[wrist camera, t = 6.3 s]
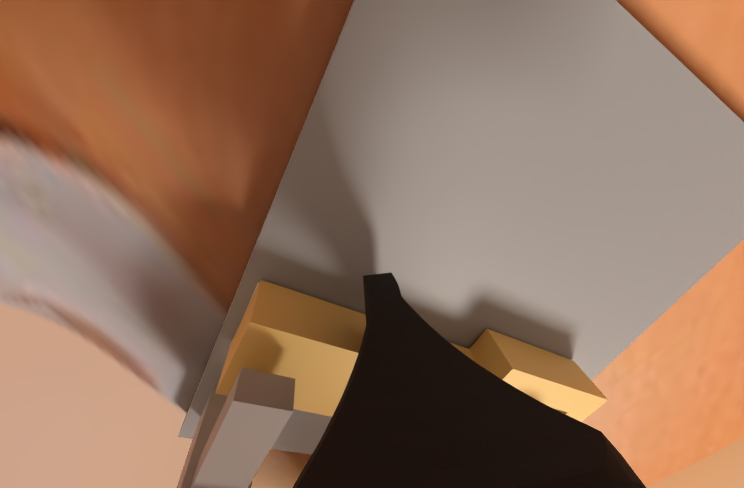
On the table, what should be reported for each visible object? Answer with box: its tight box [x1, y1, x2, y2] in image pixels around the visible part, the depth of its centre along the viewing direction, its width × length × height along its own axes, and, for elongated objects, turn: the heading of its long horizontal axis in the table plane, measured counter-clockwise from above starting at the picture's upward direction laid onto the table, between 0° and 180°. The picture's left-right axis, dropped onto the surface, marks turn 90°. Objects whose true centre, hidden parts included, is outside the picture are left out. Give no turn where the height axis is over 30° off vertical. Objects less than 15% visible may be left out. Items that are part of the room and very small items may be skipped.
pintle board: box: [177, 0, 744, 488], centre depth 11 cm, size 20×17×6 cm
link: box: [216, 280, 608, 422], centre depth 13 cm, size 14×5×2 cm, turn 60°
